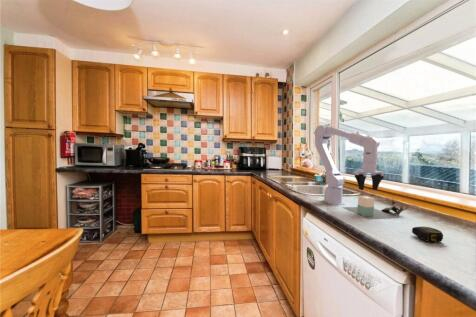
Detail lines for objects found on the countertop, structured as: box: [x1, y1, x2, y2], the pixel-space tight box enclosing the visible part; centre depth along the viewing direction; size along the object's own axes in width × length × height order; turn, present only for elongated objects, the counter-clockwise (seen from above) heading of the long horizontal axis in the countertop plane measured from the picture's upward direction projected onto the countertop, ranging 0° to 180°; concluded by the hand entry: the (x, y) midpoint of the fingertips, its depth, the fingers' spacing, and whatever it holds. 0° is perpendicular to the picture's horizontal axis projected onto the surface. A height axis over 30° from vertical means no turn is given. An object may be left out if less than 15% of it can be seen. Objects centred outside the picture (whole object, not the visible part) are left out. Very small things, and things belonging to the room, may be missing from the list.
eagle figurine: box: [380, 197, 409, 217], centre depth 101 cm, size 8×8×10 cm
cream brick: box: [357, 195, 376, 208], centre depth 97 cm, size 4×4×4 cm
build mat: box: [341, 206, 401, 220], centre depth 101 cm, size 18×16×1 cm
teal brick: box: [356, 204, 375, 217], centre depth 97 cm, size 4×4×4 cm
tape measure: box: [411, 226, 444, 243], centre depth 71 cm, size 7×7×4 cm
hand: (368, 189), depth 105 cm, fingers open, 7 cm apart
